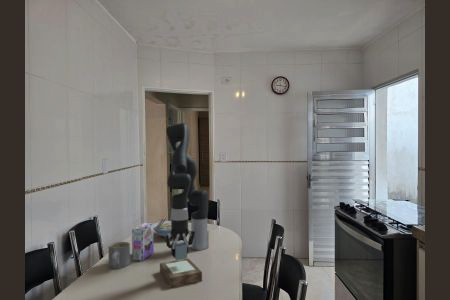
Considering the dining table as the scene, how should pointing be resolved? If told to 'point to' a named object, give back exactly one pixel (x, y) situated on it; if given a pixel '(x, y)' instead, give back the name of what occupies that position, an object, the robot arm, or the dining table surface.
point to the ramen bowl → (162, 227)
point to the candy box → (142, 241)
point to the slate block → (180, 251)
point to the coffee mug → (119, 255)
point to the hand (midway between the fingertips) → (179, 255)
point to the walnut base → (180, 272)
